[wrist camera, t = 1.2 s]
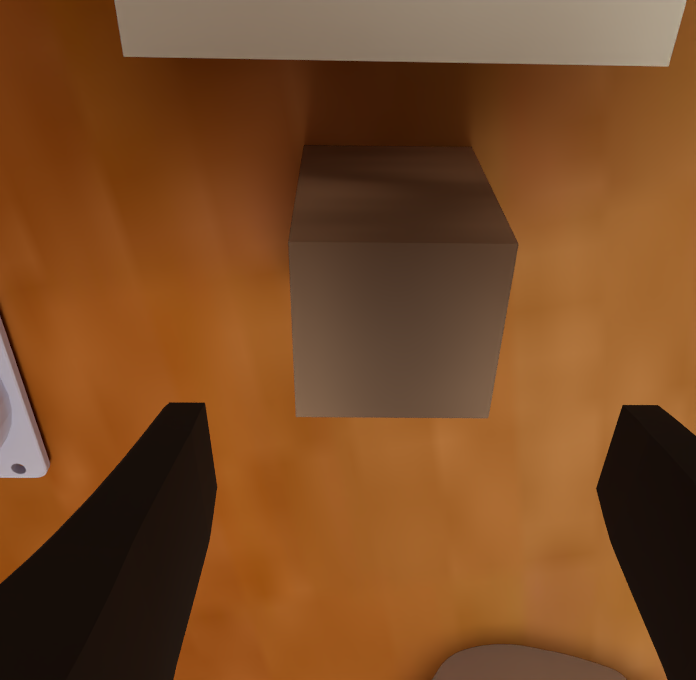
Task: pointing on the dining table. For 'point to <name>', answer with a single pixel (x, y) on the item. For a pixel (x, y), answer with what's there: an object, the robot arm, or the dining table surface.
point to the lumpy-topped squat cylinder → (520, 665)
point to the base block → (405, 30)
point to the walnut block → (397, 282)
